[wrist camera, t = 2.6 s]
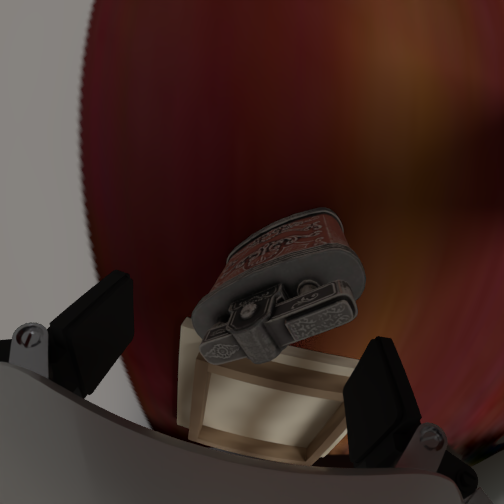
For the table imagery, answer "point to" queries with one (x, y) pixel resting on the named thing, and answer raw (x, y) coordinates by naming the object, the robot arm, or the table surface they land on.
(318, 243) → the lighter
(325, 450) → the square beige tray
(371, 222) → the table surface
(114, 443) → the robot arm
